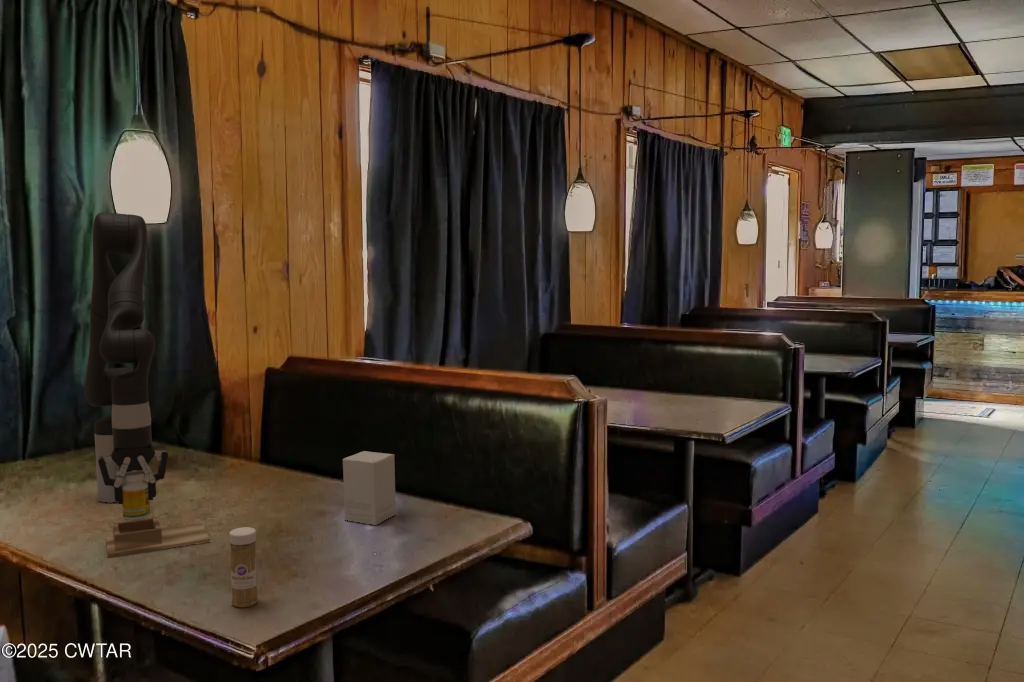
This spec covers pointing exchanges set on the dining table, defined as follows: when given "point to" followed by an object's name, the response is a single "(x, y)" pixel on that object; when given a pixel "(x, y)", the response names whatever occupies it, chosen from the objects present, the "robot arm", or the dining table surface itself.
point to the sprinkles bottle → (243, 566)
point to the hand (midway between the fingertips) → (135, 500)
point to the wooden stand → (151, 537)
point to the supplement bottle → (135, 496)
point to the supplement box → (369, 487)
